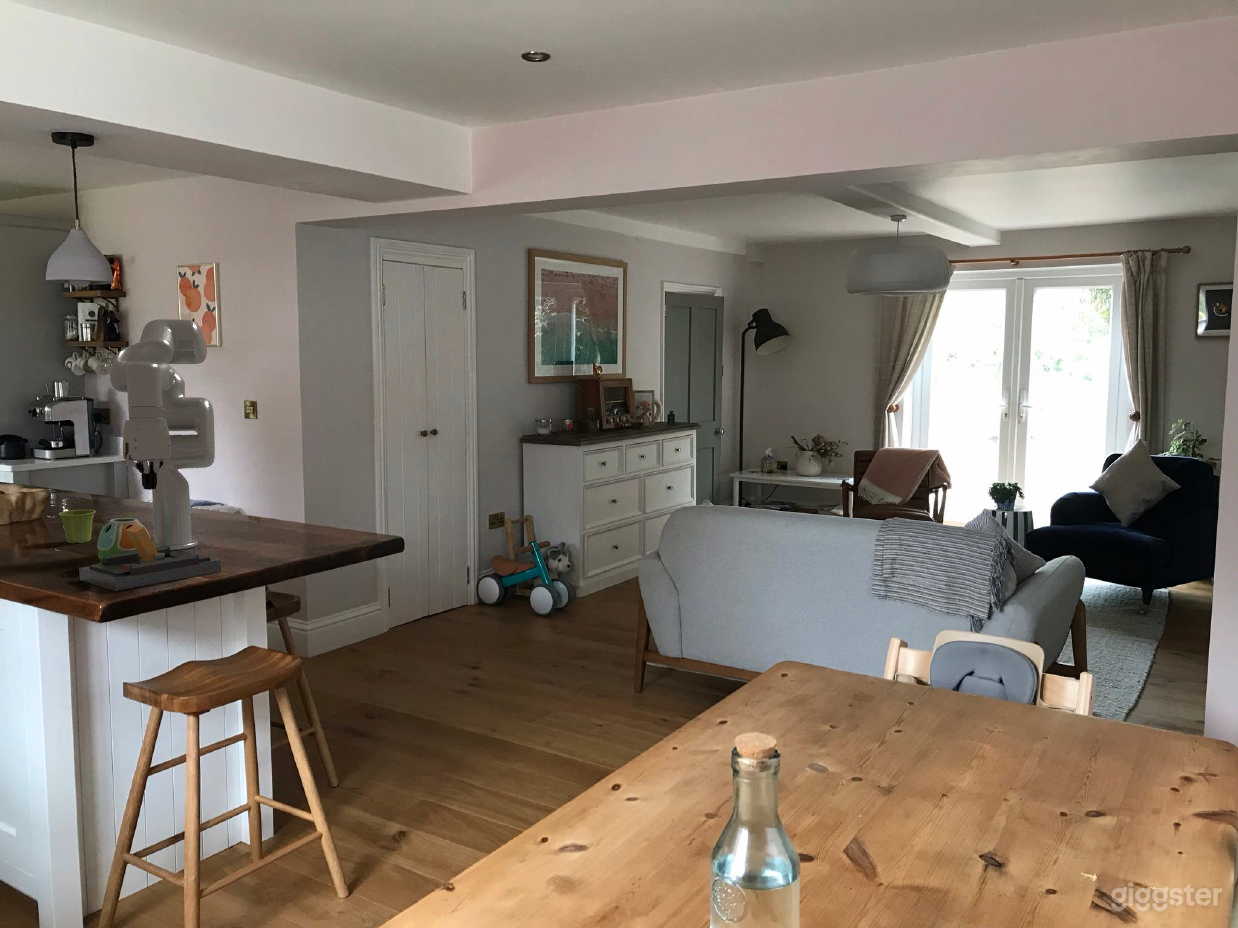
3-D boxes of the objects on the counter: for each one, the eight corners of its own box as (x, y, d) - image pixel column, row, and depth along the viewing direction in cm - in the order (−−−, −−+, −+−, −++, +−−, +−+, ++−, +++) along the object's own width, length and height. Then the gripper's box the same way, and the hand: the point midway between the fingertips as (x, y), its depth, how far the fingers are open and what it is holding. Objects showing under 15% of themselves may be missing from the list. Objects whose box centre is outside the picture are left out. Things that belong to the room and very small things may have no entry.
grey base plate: (79, 580, 237) (78, 555, 236) (183, 562, 257) (182, 539, 257) (115, 591, 226) (114, 565, 225) (220, 571, 246) (219, 547, 246)
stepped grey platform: (94, 564, 240) (94, 557, 240) (166, 552, 254) (166, 546, 254) (134, 575, 228) (133, 568, 228) (207, 562, 242) (206, 555, 242)
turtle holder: (131, 555, 266) (128, 512, 265) (161, 564, 254) (159, 519, 253) (82, 562, 257) (79, 517, 255) (112, 572, 245) (109, 525, 244)
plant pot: (104, 540, 287) (102, 510, 286) (74, 545, 279) (73, 515, 278) (82, 537, 291) (81, 508, 290) (53, 543, 283) (51, 513, 282)
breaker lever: (141, 561, 242) (124, 530, 238) (150, 555, 244) (133, 524, 240) (154, 564, 239) (136, 532, 235) (162, 558, 240) (145, 527, 236)
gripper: (167, 412, 246) (170, 484, 248) (106, 414, 234) (111, 491, 236) (183, 412, 241) (187, 487, 243) (123, 415, 229) (127, 493, 231)
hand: (149, 488), depth 239 cm, fingers closed
